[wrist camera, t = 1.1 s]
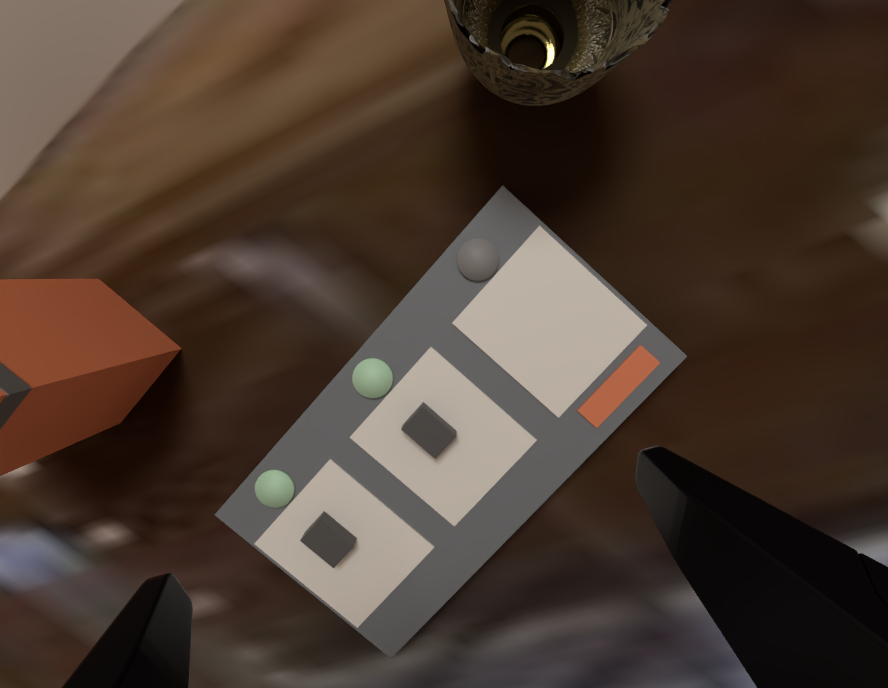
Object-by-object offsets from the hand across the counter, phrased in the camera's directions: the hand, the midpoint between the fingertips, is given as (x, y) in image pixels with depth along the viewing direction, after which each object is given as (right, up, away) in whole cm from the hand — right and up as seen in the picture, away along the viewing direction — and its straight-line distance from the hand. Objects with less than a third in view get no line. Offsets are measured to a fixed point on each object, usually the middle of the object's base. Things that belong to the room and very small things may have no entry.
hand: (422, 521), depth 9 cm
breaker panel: (0, -1, +15) cm, 15 cm away
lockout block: (-16, +3, +15) cm, 22 cm away
